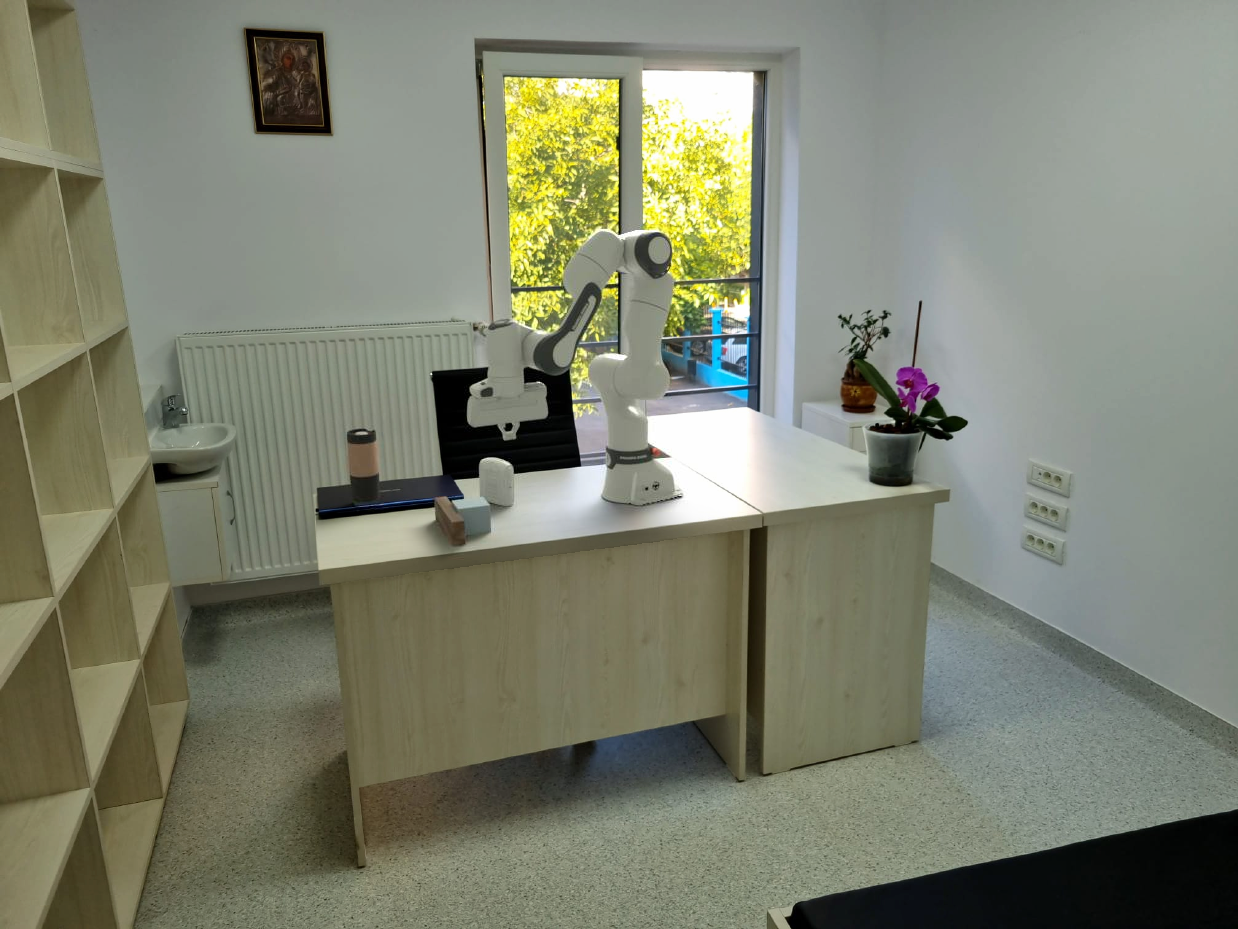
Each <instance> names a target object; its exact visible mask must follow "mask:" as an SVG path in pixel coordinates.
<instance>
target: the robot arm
mask: <svg viewBox="0 0 1238 929" xmlns="http://www.w3.org/2000/svg"><path fill="white" fill-rule="evenodd" d="M672 258H673V246H672V242H671V239H670V238H669V237H668V236H667V234H665V233H664V232H662V231H659V230H655V229H648V230H644V229H641V230H634V231H631V232H625V233H620V234H617V233H615V232H614V231H613V230H611V229H610V230H609V229H605V228H601V229H597V230H595V231H594V232H593V233H592V234H591V235H590V236H589V237H588V238H587V239H586V240H585V241H584V242H583V243H582V244H581V245H580V246H579V248H578V249H577V250H576V251H575V253H574V254H573V256H572V257H571V259H570V260H569V261H568V262H567V264H566V266H565V267H564V270H563V273H562V283H563V286H564V288H565V291H566V292H567V293H568V294H569V295H570V296H571V298H572V303H571V305H570V308H569V309H568V310H567V312H566V315H565V316H564V318H563V320H562V321H561V323H560V325H559V326H558V328H557V329H555V330H553V331H550V332H549V331H544V330H541V329H536V328H533V327H529V326H528V325H524V324H523V323H521V322H519V321H518V320H517V319H515V318H501V319H498V320H495V321H493V322H491V323H490V324H489V325H488V327H487V330H486V333H485V334H486V336H485V352H486V353H485V354H486V360H487V363H488V369H487V378H485V379H483V380H481V381H478V382H476V383H473V384H472V385H471V386H469V392H470V394H471V395H470V396H469V398H468V400H467V407H466V409H467V410H466V418H467V419H466V420H467V423H468V424H469V425H470V426H471V427H472V428H478V427H479V428H480V427H485V426H486V427H487V426H494V425H497V427H498V429H499V430H500V431H501V433H502V439H503V440H504V441H511V440H516V439H517V434H516V433H517V431H518V429H519V428H520V426H521V425H520V422H526V421H535V420H542V419H547V417H548V414H549V411H548V410H549V408H548V403H547V398H546V397H547V395H548V392H547V390H548V389H547V386H546V385H545V384H544V383H542V382H540V381H536V382H527V383H525V378H524V377H525V375H524V369H525V368H528V367H529V368H530V369H534V370H537V371H541V372H543V373H545V374H547V375H550V376H560V375H563V374H564V373H565V372H567V371H568V370H569V369H570V368H571V366H572V365H573V363H574V361H575V358H576V355H577V351H578V347H579V345H580V343H581V341H582V339H583V338H584V337H583V336H584V335H585V333H586V331H587V330H588V328H589V326H590V324H591V322H592V321H593V319H594V317H595V315H596V314H597V311H598V309H599V307H600V304H601V303H602V297H603V294H602V293H603V291H604V289H605V287H606V286H607V284H608V282H609V281H610V279H612V276H613V275H614V274H615V273H618V274H622V275H628V274H629V275H632V276H633V290H632V292H631V295H630V299H629V301H628V305H627V309H626V312H625V315H624V318H623V321H622V324H621V332H622V335H623V336H624V337H625V338H626V340H627V342H628V351H627V352H628V353H627V355H626V354H619V353H613V352H612V353H604V354H598V355H596V356H594V358H593V359H592V360H591V361H590V363H589V365H588V369H587V378H588V381H589V383H590V385H591V386H592V387H593V388H594V389H595V391H596V392H597V394H598V396H599V398H600V400H601V403H602V406H603V408H604V409H603V410H604V413H605V417H606V428H607V431H606V432H607V433H606V434H607V438H606V439H607V440H606V441H607V445H606V446H605V465H606V472H605V477H604V478H605V479H604V485H603V489H602V492H601V497H602V498H603V499H605V500H607V501H609V502H614V503H620V504H629V503H631V504H630V505H635V506H643V504H645V505H647V504H646V503H649V504H653V503H652V502H654V503H658V502H657V501H659V502H661V501H660V500H663V501H666V500H665V499H668V500H671V499H670V498H673V497H677V496H679V495H682V496H683V491H682V488H681V487H679V486H678V485H676V483H675V480H674V475H673V473H672V472H671V470H670V469H668V467H666V466H665V465H664V464H662V463H661V462H659V461H658V460H657V459H656V458H655V457H659V456H660V455H661V453H662V452H661V450H660V449H658V448H657V447H653V446H651V445H649V444H648V443H649V441H648V440H649V437H648V436H649V420H648V417H647V416H646V414H645V412H643V411H642V409H641V408H640V406H639V404H638V402H637V400H638V401H656V400H661V399H662V398H663V397H664V396H665V395H666V393H667V392H668V390H669V387H670V382H671V381H670V380H671V377H670V376H671V375H670V373H669V370H668V368H667V367H666V365H665V363H664V362H663V356H662V339H663V334H664V332H665V331H664V330H665V327H666V323H667V320H668V316H669V313H670V309H671V305H672V301H673V295H674V287H675V279H674V276H673V275H672V273H671V272H669V271H670V269H671V267H672ZM509 423H511V424H512V428H511V430H510V431H506V430H505V428H506V424H509ZM677 498H678V497H677ZM673 499H674V498H673Z"/></svg>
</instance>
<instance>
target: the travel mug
mask: <svg viewBox="0 0 1238 929" xmlns="http://www.w3.org/2000/svg"><path fill="white" fill-rule="evenodd" d="M346 442H347V445H346V446H347V457H348V458H347V459H348V461H347V462H348V474H349V481H350V490H351V500H353V501H355V502H371V501H374V500H377V499H379V498H380V499H381V493H380V492H381V491H380V490H381V489H380V468H379V456H378V447H377V446H378V442H377V431H376V430H375V429H372V430H368V429H366V428H355V429H351V430H348V431H347V432H346ZM353 501H352V502H353Z"/></svg>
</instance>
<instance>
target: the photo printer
mask: <svg viewBox="0 0 1238 929" xmlns="http://www.w3.org/2000/svg"><path fill="white" fill-rule="evenodd" d="M514 473H515V471H514V466H513V465H512V464H511V463H510V462H509V461H506V460H504V459H501V458H498V457H485V458H483V459H481V460H480V462H479V465H478V474H479V475H478V478H479V497H483V498H484V499H485V500H486V501H487V502H488V503H489V504H490V503H492V504H495V505H497V506H498V505H499V506H502V507H511V506H513V504H514V503H515V479H514V478H515V477H514V476H515V475H514Z"/></svg>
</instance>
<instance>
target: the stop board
mask: <svg viewBox="0 0 1238 929" xmlns="http://www.w3.org/2000/svg"><path fill="white" fill-rule="evenodd" d="M433 501H434V515H435V518H434V519H435V521H436V523H437V524H438V525H439V527H440V529H441V530H442V532H443V533H444V535H445V536H446V537H447V539H448V541H449V542H450V544H451V545H452V547H457V546H463V545H466V544H467V542H466V535H465V521H464V519H463V518H462V517H461V515H460V514H459V513H458V512H457V510H456V509H455V508H454V506H453V505H452V501H450V499H449V498H448V497H447V496H438V497H434V500H433Z"/></svg>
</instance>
